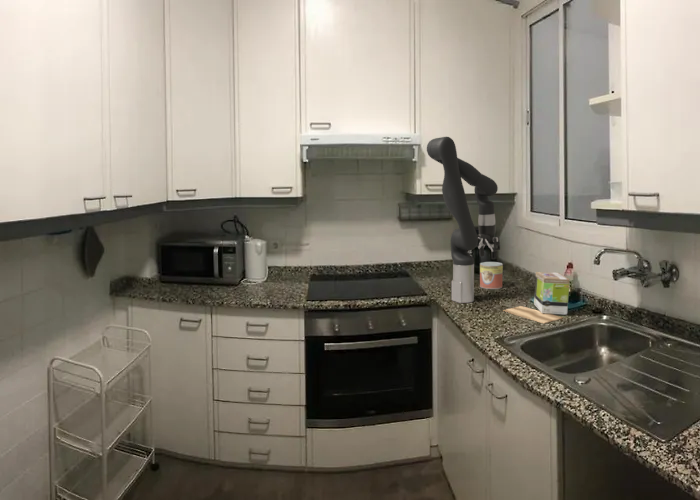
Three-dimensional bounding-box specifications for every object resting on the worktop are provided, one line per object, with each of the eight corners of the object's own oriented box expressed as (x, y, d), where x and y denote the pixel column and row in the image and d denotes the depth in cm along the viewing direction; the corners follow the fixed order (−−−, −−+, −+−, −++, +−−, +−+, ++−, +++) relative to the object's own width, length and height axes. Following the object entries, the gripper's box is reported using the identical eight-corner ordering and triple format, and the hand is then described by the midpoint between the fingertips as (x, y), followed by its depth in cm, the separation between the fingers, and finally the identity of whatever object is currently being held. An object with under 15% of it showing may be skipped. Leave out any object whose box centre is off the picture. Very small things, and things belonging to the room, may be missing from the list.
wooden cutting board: (544, 323, 163) (544, 322, 163) (502, 311, 180) (502, 310, 180) (563, 318, 168) (563, 317, 168) (521, 306, 185) (521, 305, 185)
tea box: (568, 315, 171) (570, 278, 169) (541, 314, 173) (543, 278, 171) (558, 305, 185) (559, 271, 184) (533, 304, 187) (534, 271, 185)
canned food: (476, 287, 222) (476, 264, 221) (484, 283, 231) (484, 261, 229) (498, 290, 215) (498, 266, 214) (505, 285, 224) (505, 262, 222)
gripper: (470, 223, 205) (471, 256, 208) (490, 226, 192) (491, 261, 195) (483, 221, 208) (484, 254, 211) (504, 224, 195) (504, 258, 198)
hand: (487, 257), depth 203 cm, fingers open, 8 cm apart
